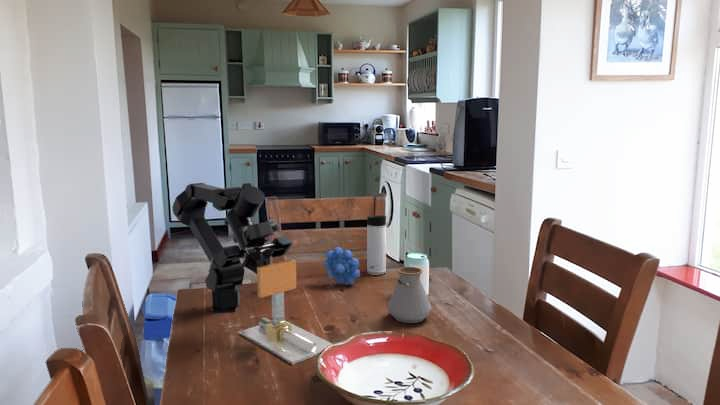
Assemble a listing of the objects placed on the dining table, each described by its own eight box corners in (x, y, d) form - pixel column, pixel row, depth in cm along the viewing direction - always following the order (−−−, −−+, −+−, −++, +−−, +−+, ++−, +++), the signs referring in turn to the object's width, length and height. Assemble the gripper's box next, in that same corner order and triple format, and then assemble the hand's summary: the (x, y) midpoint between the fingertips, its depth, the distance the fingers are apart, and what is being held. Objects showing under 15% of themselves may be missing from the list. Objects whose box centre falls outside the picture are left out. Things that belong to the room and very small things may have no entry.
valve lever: (258, 328, 123) (256, 266, 121) (293, 317, 130) (292, 258, 127) (262, 330, 122) (260, 268, 119) (297, 319, 129) (296, 260, 126)
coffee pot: (392, 307, 145) (392, 254, 143) (434, 311, 142) (435, 257, 140) (373, 339, 125) (373, 278, 122) (421, 344, 122) (423, 282, 119)
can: (418, 289, 160) (419, 251, 158) (433, 296, 154) (434, 256, 152) (399, 293, 157) (400, 254, 155) (413, 300, 151) (414, 259, 149)
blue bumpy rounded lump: (320, 287, 162) (319, 249, 160) (326, 280, 169) (325, 244, 167) (357, 290, 160) (357, 251, 158) (361, 283, 166) (361, 246, 164)
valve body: (239, 333, 128) (239, 320, 128) (280, 320, 136) (280, 308, 136) (292, 364, 112) (292, 350, 112) (335, 347, 120) (335, 334, 120)
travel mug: (373, 277, 172) (373, 217, 169) (363, 272, 178) (363, 213, 175) (389, 274, 175) (390, 215, 172) (379, 269, 181) (380, 212, 178)
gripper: (220, 214, 122) (246, 270, 115) (287, 204, 134) (314, 255, 128) (205, 241, 129) (230, 296, 122) (270, 230, 141) (296, 279, 135)
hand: (269, 280), depth 127 cm, fingers closed
